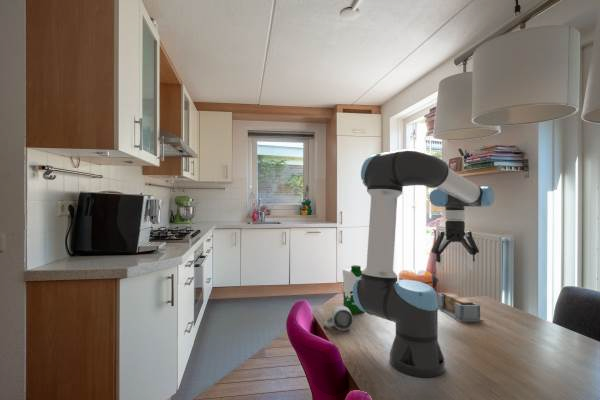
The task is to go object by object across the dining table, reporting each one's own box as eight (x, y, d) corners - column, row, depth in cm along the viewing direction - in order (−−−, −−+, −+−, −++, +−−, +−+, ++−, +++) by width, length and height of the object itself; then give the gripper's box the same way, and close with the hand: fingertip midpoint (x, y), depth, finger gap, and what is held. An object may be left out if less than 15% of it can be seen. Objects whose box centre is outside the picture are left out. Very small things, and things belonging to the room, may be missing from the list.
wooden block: (472, 316, 130) (472, 302, 130) (464, 317, 130) (464, 302, 130) (450, 306, 144) (450, 293, 144) (442, 306, 143) (442, 293, 143)
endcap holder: (483, 320, 127) (483, 305, 127) (459, 321, 126) (459, 306, 126) (454, 305, 147) (454, 292, 147) (434, 305, 146) (433, 292, 146)
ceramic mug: (350, 322, 126) (350, 303, 126) (353, 330, 118) (353, 309, 118) (324, 322, 126) (323, 303, 126) (325, 330, 118) (324, 310, 118)
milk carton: (349, 315, 135) (349, 267, 135) (340, 308, 143) (340, 264, 143) (367, 312, 137) (367, 266, 138) (357, 306, 146) (357, 263, 146)
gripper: (476, 219, 142) (477, 267, 141) (423, 219, 140) (423, 268, 139) (487, 220, 134) (488, 270, 134) (431, 220, 132) (432, 271, 132)
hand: (455, 269), depth 137 cm, fingers open, 13 cm apart
